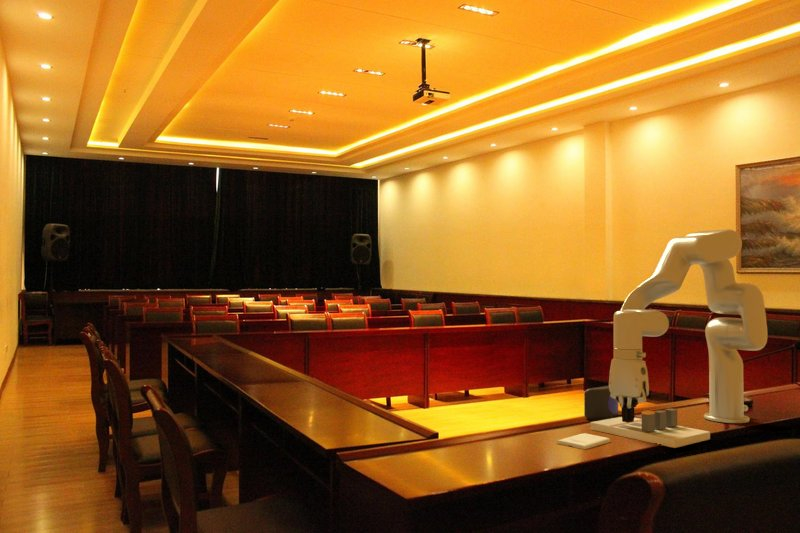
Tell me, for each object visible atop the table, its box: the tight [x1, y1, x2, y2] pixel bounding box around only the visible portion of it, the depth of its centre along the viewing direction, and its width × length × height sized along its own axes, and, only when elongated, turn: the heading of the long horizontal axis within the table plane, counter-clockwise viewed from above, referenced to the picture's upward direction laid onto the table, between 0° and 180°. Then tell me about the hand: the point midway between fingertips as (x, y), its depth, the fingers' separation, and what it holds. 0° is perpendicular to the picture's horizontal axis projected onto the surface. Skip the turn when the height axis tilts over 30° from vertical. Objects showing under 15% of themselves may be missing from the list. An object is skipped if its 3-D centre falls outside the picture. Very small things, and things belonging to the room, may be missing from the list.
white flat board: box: [589, 416, 711, 449], centre depth 180 cm, size 17×26×2 cm, turn 36°
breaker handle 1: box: [655, 409, 666, 429], centre depth 177 cm, size 3×2×4 cm, turn 126°
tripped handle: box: [641, 409, 656, 432], centre depth 174 cm, size 3×2×5 cm, turn 126°
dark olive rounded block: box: [583, 385, 619, 421], centre depth 203 cm, size 16×5×9 cm, turn 128°
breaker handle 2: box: [664, 407, 678, 427], centre depth 181 cm, size 3×2×4 cm, turn 126°
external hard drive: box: [556, 432, 611, 450], centre depth 169 cm, size 2×8×12 cm
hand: (628, 421), depth 179 cm, fingers closed
